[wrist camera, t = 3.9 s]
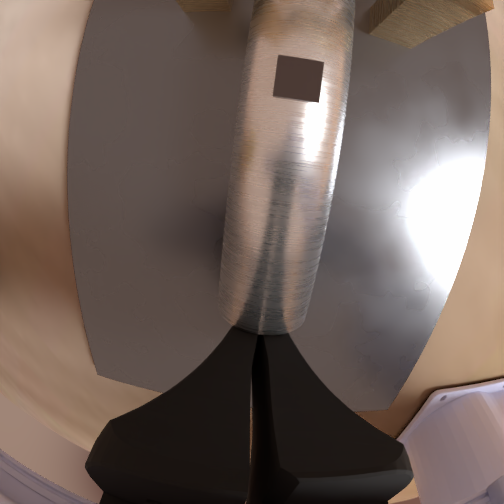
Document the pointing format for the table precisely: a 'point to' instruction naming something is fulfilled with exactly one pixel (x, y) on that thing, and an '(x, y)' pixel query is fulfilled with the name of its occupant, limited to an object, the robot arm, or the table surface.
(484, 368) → the table surface
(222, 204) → the plate
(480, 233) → the table surface
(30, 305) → the table surface
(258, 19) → the tube
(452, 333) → the table surface
